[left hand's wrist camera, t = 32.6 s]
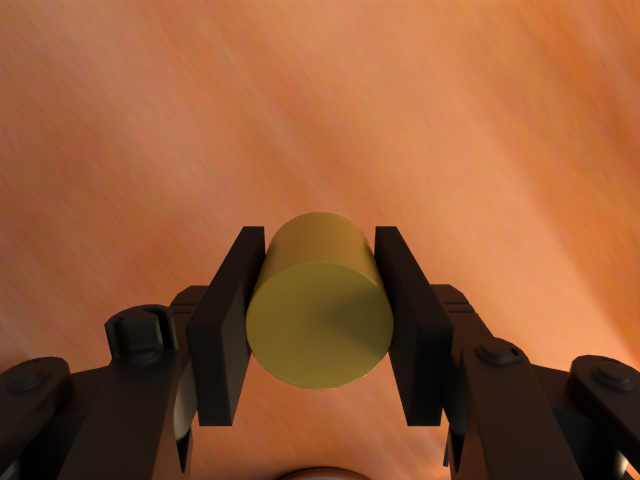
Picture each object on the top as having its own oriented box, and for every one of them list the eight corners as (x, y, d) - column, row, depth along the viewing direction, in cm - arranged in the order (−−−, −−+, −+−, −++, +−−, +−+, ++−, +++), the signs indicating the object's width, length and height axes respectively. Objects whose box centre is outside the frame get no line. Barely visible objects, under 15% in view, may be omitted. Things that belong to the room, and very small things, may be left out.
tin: (347, 322, 16) (357, 406, 11) (252, 289, 15) (225, 364, 11) (390, 235, 14) (420, 293, 10) (288, 195, 14) (273, 238, 10)
